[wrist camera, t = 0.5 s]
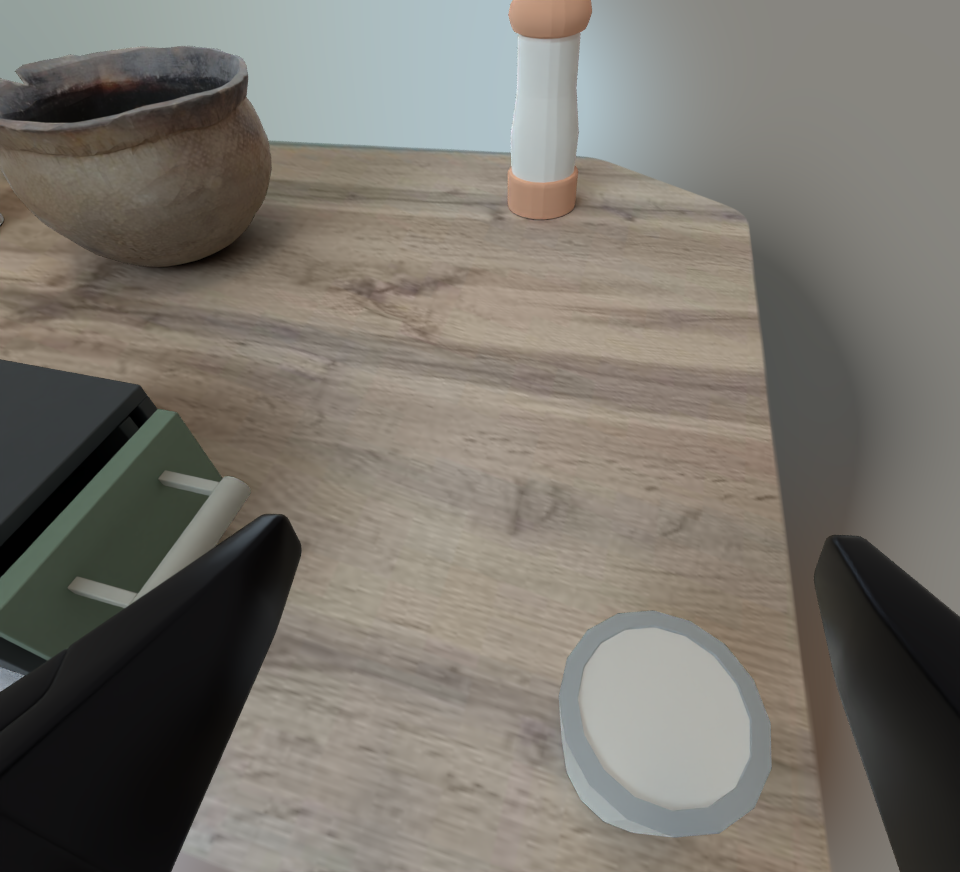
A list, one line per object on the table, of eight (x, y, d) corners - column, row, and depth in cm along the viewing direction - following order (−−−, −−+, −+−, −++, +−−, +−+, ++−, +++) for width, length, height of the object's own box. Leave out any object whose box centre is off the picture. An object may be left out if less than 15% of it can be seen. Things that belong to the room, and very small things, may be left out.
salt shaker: (587, 199, 57) (614, -36, 43) (550, 226, 53) (565, -20, 39) (532, 183, 60) (540, -40, 46) (494, 208, 57) (489, -26, 42)
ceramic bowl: (100, 212, 60) (6, 55, 49) (293, 183, 63) (246, 28, 52) (49, 324, 46) (-101, 137, 34) (301, 279, 49) (239, 94, 38)
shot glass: (698, 678, 24) (749, 618, 19) (724, 866, 20) (801, 855, 15) (550, 661, 25) (561, 599, 20) (544, 838, 21) (555, 819, 16)
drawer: (300, 504, 31) (258, 427, 26) (179, 709, 24) (89, 658, 19) (66, 452, 34) (-11, 375, 29) (-101, 616, 27) (-241, 552, 22)
